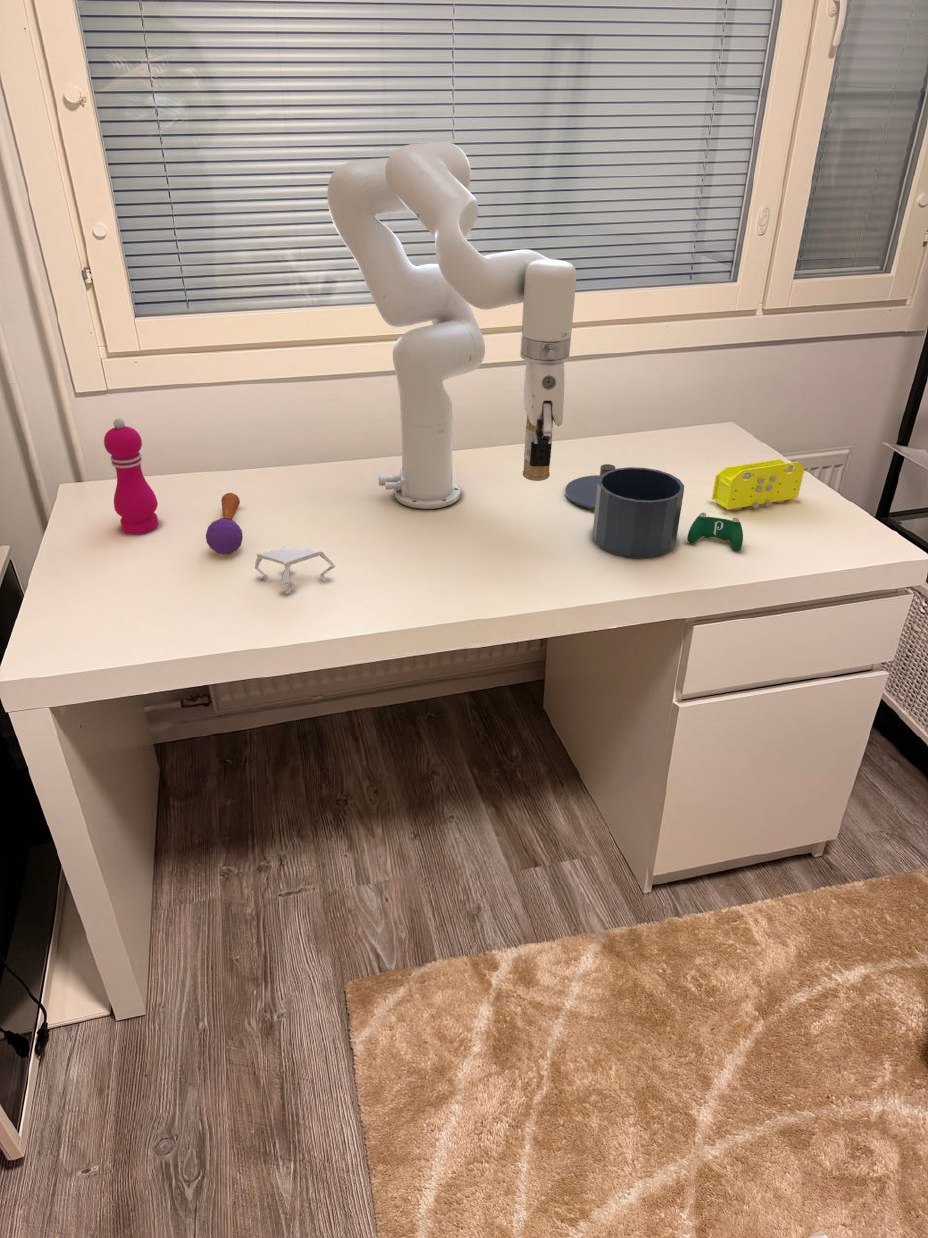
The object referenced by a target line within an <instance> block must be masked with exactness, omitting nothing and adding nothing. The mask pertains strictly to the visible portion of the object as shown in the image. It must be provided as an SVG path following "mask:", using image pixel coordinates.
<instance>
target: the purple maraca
mask: <svg viewBox="0 0 928 1238" xmlns="http://www.w3.org/2000/svg"><path fill="white" fill-rule="evenodd" d="M220 501H221V509H222V517H220V518H219V519H218V518H217V519H216V520H214V521H212V522H211V523H210V524H209V525H208V526H207V529H206V533H205V541H206V544H207V545H208V547H209V549H211V550H212V551H214V552H215V553H216V554H221V555H230V554H232V553H235V552H237V551H238V550H239V548H240V547H241V546H242V542H243V539H244V536H243V530H242V528H241V527H240V525H239V524H238V523H236V521H235V520H234V519H233V518H234V516H235V514H236V513H237V511H238V508H239V506H240V505H241V500H240V497H239V496H238V495H237V494H236V493H233V492H226V493H225V494H223V495H222V497H221V499H220Z"/></svg>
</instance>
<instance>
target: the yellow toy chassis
mask: <svg viewBox="0 0 928 1238" xmlns="http://www.w3.org/2000/svg"><path fill="white" fill-rule="evenodd" d="M804 473H805V467H804V466H803V465H802V464H801V463H800V462H799V461H792V462H785V461H783V459H781V458H778V459H772V460H764V461H758V462H752V463H743V464H738V465H731V466H725V467H724V468H723V469H721V470H720V471H719V472H718V473H716V474H715V478H714V483H713V488H712V489H713V491H712V494H711V500H715V502H716V503H717V504H718V505H719V506H721V507H722V508H724V509H726V510H727V511H728V510H731V511H740V510H742V509H743V508H745V507H751V506H752V507H753V508H754V509H758V508H759V507H760V505H763V504H764V505H765V506H766V507H770V506H771V505H772V503H775V504H782V503H785V501H789V500H793V499H799V494H800V490H801V486H802V482H803V478H804Z"/></svg>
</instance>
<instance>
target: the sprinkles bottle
mask: <svg viewBox="0 0 928 1238" xmlns="http://www.w3.org/2000/svg"><path fill="white" fill-rule="evenodd" d="M552 416H553V415H552ZM537 422H538V423H542V420H537ZM553 425H554V420H553V418H552V428H553V427H554V426H553ZM539 431H542V428H538V433H539ZM524 434H525V436H524V448H523V449H524V450H523V451H524V452H523V460H524V461H523V471H522V476H523V477H524V478H525V479H526V480H527V481H528V480H529V481H532V482H543V481H545V480H548V478H549V477H550V475H551V473H550V465H551V464H550V465H549V466H531V465H530V453H531V442H533V434H534V425H532V424H531V422H530V420H529V418H528V414H527V413H526V426H525V433H524ZM552 444H553V443H552ZM552 444H551V447H552ZM551 458H552V455H551V456H550V459H551Z"/></svg>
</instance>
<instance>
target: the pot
mask: <svg viewBox="0 0 928 1238" xmlns="http://www.w3.org/2000/svg"><path fill="white" fill-rule="evenodd" d="M684 492H685V485H684V483H683V482H682V481H681V479H680V478H678V477H676V476H674V475H673V474H671V473H668V472H665V471H662V470H659V469H653V468H647V467H636V466H635V467H633V466H631V467H629V466H627V467H619V468H615V469H614V470H611V471H607V472H605V473H604V474H602V475H601V476H600V477H599V480H598V484H597V494H596V504H595V509H594V514H593V515H594V516H593V525H592V539H593V542H594V543H595V545H597V546H598V548H600V549H602V550H603V551H605V552H607V553H609V554H611V555H615V556H619V557H622V558H627V559H628V558H629V559H653V558H654V559H655V558H659V557H662V556H665V555H668V554H670V553H671V552H672V551H673V550H674V549H675V548H676V547H675V546H676V545H677V539H678V532H679V527H680V525H679V524H680V520H681V512H682V505H683V499H684V494H685V493H684Z"/></svg>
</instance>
